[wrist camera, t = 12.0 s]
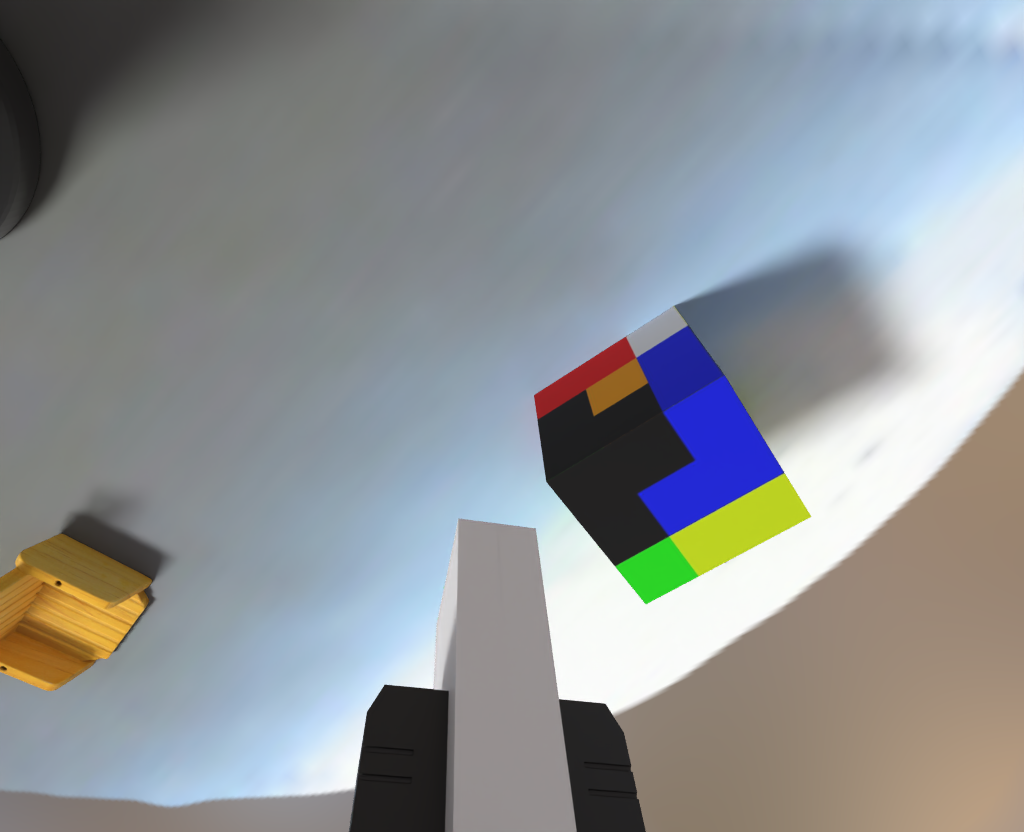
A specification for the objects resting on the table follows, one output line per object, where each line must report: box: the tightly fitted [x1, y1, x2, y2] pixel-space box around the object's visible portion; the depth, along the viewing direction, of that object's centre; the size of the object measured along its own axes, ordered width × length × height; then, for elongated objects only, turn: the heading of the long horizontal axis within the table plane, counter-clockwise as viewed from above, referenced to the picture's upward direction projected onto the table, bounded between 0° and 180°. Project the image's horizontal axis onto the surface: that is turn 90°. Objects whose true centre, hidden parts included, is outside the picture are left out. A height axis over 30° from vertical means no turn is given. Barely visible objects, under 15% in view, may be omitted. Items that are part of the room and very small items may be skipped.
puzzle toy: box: [534, 306, 811, 604], centre depth 41 cm, size 10×10×10 cm
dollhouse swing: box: [0, 534, 152, 691], centre depth 47 cm, size 10×10×9 cm
